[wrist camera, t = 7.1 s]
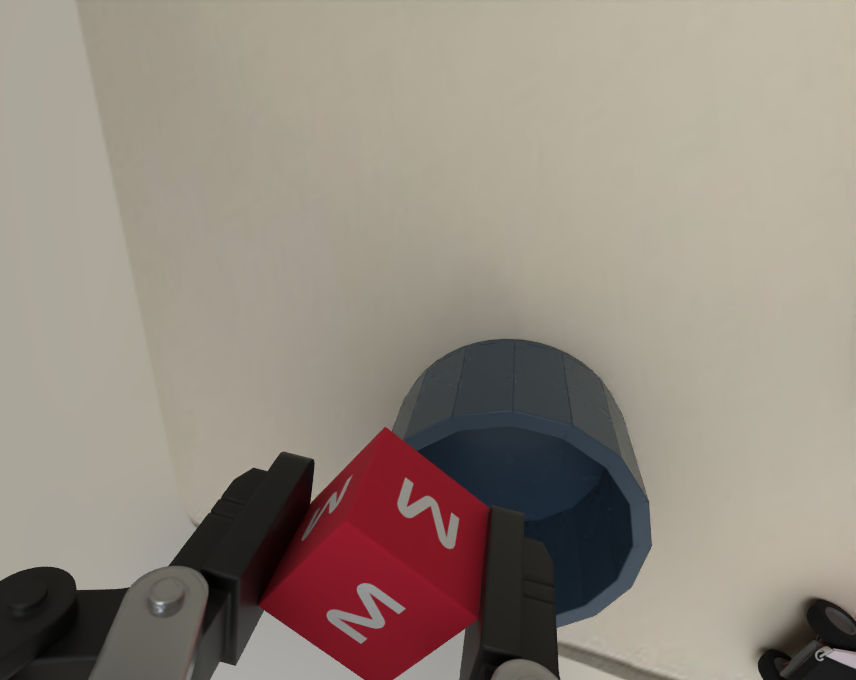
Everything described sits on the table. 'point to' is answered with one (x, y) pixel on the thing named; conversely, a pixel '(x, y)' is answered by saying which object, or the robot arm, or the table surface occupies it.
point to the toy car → (818, 649)
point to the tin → (539, 459)
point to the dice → (383, 562)
